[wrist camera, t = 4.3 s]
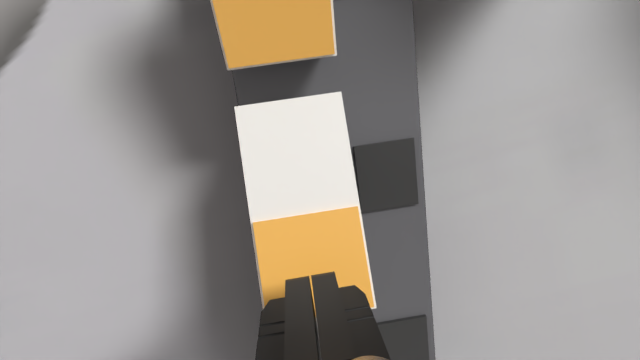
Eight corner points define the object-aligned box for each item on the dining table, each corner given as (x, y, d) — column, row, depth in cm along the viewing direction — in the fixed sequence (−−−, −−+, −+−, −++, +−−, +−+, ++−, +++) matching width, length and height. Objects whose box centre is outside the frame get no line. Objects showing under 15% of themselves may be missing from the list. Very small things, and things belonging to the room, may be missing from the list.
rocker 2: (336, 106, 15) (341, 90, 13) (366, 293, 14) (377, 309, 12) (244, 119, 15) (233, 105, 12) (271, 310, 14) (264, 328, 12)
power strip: (372, -149, 16) (410, -263, 11) (415, 365, 24) (449, 441, 19) (206, -131, 16) (165, -240, 11) (301, 386, 23) (304, 469, 18)
